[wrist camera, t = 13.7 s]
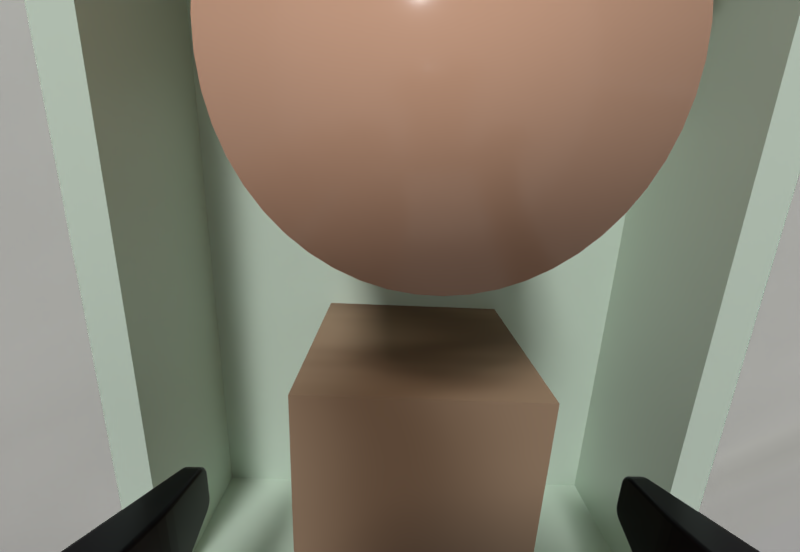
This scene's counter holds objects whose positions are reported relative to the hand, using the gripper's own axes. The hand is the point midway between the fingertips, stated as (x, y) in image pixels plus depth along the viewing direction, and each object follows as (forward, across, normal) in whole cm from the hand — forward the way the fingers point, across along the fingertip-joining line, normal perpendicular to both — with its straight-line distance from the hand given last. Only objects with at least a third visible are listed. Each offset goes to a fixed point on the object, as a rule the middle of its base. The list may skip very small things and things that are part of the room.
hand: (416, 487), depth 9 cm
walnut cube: (+4, 0, 0) cm, 4 cm away
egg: (+4, 0, -8) cm, 9 cm away
